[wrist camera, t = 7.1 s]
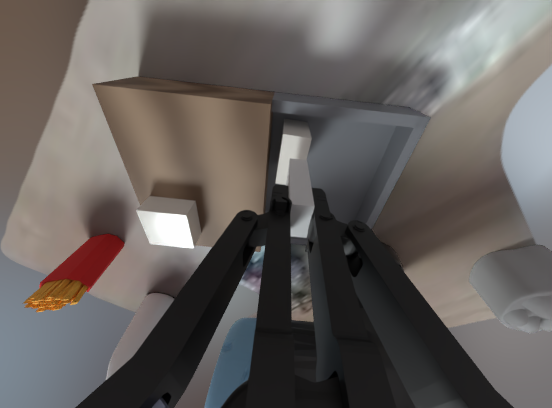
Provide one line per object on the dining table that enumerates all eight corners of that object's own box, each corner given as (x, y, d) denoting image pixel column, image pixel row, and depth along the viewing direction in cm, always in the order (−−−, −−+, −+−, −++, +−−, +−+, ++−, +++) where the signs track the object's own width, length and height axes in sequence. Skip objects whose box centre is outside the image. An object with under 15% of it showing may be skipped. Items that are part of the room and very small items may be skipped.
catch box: (409, 107, 21) (430, 117, 18) (353, 230, 32) (360, 250, 29) (275, 92, 21) (272, 99, 18) (264, 221, 32) (261, 240, 28)
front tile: (284, 118, 21) (307, 122, 21) (277, 161, 24) (298, 164, 24) (283, 133, 17) (311, 138, 17) (275, 183, 20) (299, 186, 20)
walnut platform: (275, 92, 21) (270, 104, 16) (264, 221, 32) (260, 251, 27) (138, 76, 21) (92, 84, 16) (175, 212, 31) (154, 241, 27)
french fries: (99, 252, 39) (36, 318, 29) (81, 238, 37) (8, 305, 27) (134, 245, 37) (80, 313, 27) (118, 230, 35) (53, 298, 25)
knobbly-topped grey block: (556, 241, 31) (632, 295, 24) (527, 286, 38) (580, 338, 31) (476, 254, 34) (524, 306, 27) (463, 294, 41) (498, 343, 34)
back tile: (195, 200, 22) (186, 215, 20) (201, 232, 25) (193, 248, 23) (149, 195, 22) (136, 210, 20) (161, 228, 25) (150, 243, 23)
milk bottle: (139, 295, 48) (64, 416, 32) (163, 289, 46) (95, 416, 30) (162, 310, 52) (106, 424, 36) (185, 305, 50) (137, 424, 34)
